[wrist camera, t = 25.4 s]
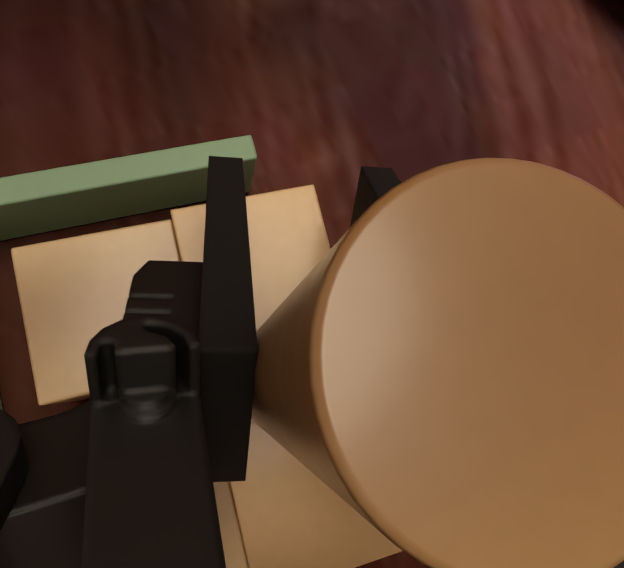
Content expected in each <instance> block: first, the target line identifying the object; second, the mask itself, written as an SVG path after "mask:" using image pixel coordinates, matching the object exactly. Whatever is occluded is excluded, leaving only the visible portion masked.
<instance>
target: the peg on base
mask: <svg viewBox="0 0 624 568" xmlns="http://www.w3.org/2000/svg"><path fill="white" fill-rule="evenodd" d="M246 208H247V221H248V233H249V246H250V259H251V271H252V284H253V297H254V309H255V322H256V335H257V347H258V353H257V362H256V368H255V385H254V396H253V406H252V417H251V428H250V438H249V449H248V460H247V470H246V481H234V482H230V484H231V489H232V493H233V498H234V502H235V507H236V511H237V516H238V520H239V525H240V529H241V534H242V538H243V543H244V547H245V552H246V556H247V561H248V565H249V568H355V567H358V566H361V565H364V564H367V563H370V562H373V561H376V560H378V559H381V558H384V557H387V556H390V555H393V554H396V553H399V552H401V551H404V552H405V553H407V554H408V555H410V556H411V557H413V558H414V559H415V560H417V561H418V562H420V563H421V564H423V565H425V566H427V567H429V568H614V567H615V566H617V565H618V564H619V563H621V562H622V561H624V207H623V206H622V205H620V204H619V203H618V202H616V201H615V200H614V199H612V198H611V197H610V196H608V195H607V194H606V193H604V192H603V191H601V190H600V189H598V188H596V187H594V186H593V185H591V184H589V183H588V182H586V181H584V180H582V179H581V178H578V177H576V176H574V175H571V174H569V173H567V172H564V171H562V170H560V169H557V168H554V167H550V166H547V165H543V164H540V163H537V162H531V161H525V160H519V159H512V158H477V159H468V160H459V161H455V162H451V163H447V164H443V165H440V166H436V167H433V168H431V169H428V170H426V171H423V172H421V173H419V174H416V175H414V176H412V177H410V178H408V179H407V180H405V181H403V182H402V183H400V184H398V185H397V186H395V187H393V188H391V189H390V190H389V191H388V192H386V193H385V194H384V195H383V196H381V197H380V198H379V199H378V200H377V201H375V202H374V203H373V204H372V205H371V206H370V207H369V208H368V209H367V210H366V211H365V212H364V213H363V214H362V215H361V216H360V217H359V218H358V219H357V221H356V222H355V223H354V224H353V225H352V226H351V227H350V228H349V229H348V230H347V232H346V233H345V234H344V235H343V236H342V237H341V238H340V239H339V240H338V241H337V243H336V244H335V245H334V246H333V247H332V248H331V249H330V245H329V241H328V237H327V233H326V229H325V226H324V222H323V218H322V214H321V210H320V206H319V202H318V199H317V195H316V191H315V187H314V185H306V186H301V187H295V188H289V189H284V190H278V191H273V192H267V193H262V194H256V195H251V196H246ZM170 213H171V218H172V222H173V227H174V231H175V236H176V240H177V245H178V249H179V254H180V258H181V261H185V262H203V252H204V234H205V215H206V204H201V205H195V206H189V207H184V208H178V209H173V210H171V212H170Z"/></svg>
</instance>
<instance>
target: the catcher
mask: <svg viewBox="0 0 624 568" xmlns="http://www.w3.org/2000/svg"><path fill="white" fill-rule="evenodd" d="M209 156H220V157H234V158H243V170H244V183H245V193H247V192H250V189H251V184H252V179H253V175H254V170H255V165H256V160H257V154H256V150H255V147H254V143H253V139H252V137H251V135H246V136H240V137H234V138H229V139H223V140H217V141H211V142H205V143H199V144H194V145H188V146H182V147H176V148H170V149H165V150H159V151H153V152H147V153H141V154H136V155H130V156H124V157H118V158H112V159H107V160H101V161H95V162H89V163H83V164H77V165H72V166H66V167H60V168H54V169H48V170H43V171H37V172H31V173H25V174H19V175H14V176H8V177H2V178H0V241H2V240H7V239H12V238H17V237H22V236H28V235H33V234H38V233H43V232H48V231H53V230H58V229H63V228H68V227H73V226H79V225H84V224H89V223H94V222H99V221H104V220H109V219H114V218H119V217H124V216H130V215H135V214H140V213H145V212H150V211H155V210H160V209H165V208H170V207H175V206H181V205H186V204H191V203H196V202H201V201H206V197H207V178H208V160H209ZM0 409H2V410H3V407H2V402H1V397H0Z"/></svg>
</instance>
